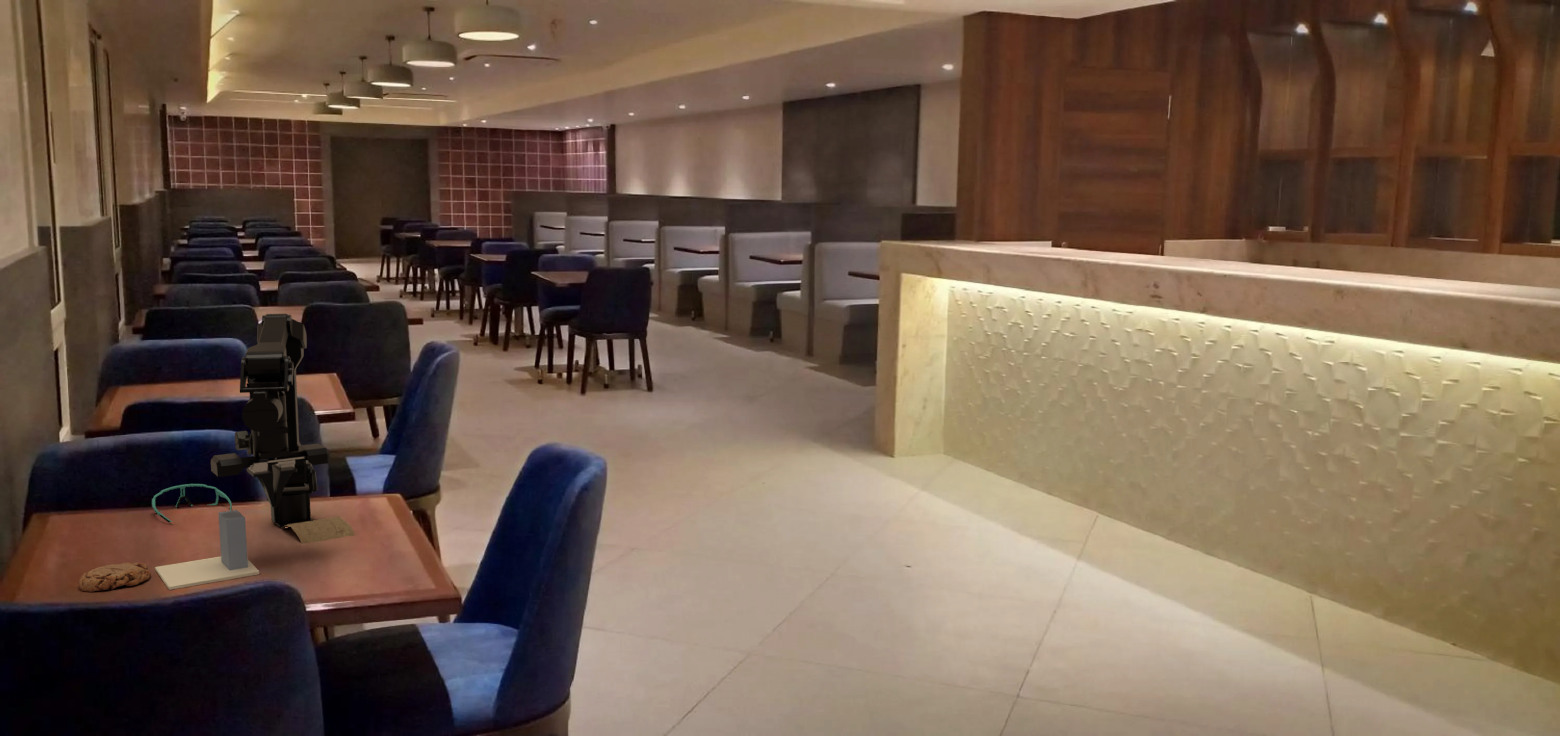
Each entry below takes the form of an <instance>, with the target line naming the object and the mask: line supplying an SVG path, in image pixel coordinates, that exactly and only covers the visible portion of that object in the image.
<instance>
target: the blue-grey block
mask: <svg viewBox="0 0 1560 736" xmlns="http://www.w3.org/2000/svg"><path fill="white" fill-rule="evenodd" d="M217 514H218V526H219V527H218V528H219V542H220V543H219V544H220V545H219V547H220V556H221V562H222V563H223V564H224V565H225V566H226V567H227V568H228V569H229V570H235V569H241V568H247V567H248V560H249V559H248V546H247V527H246V517H245V516H244V515H243V514H242V513H241V512H240V511H239V510H238V509H233V510H231V511H230V510H226V511H221V512H220V511H219V512H218V513H217Z"/></svg>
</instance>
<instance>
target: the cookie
mask: <svg viewBox="0 0 1560 736" xmlns="http://www.w3.org/2000/svg"><path fill="white" fill-rule="evenodd" d="M148 567H149V566H148V564H145V563H143V562H134V563H132V562H122V563H119V564H106V565H103V566H98V567H96V568H93V569H91V570H89V571H88V572H84V573H83V574H82V575H81V577H80V578H79V581H78V584H79V587H78V589H79V590H80V591H82V592H91V593H92V592H94V593H95V592H98V591H99V592H100V591H105V590H106V591H109V590H114V589H116V588H119V587H122V586H127V587H133V586H137V585H139V584H140V583H143V582H145V581H148V580H150V579H151V577H152V572H151V571H150V569H148Z"/></svg>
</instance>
